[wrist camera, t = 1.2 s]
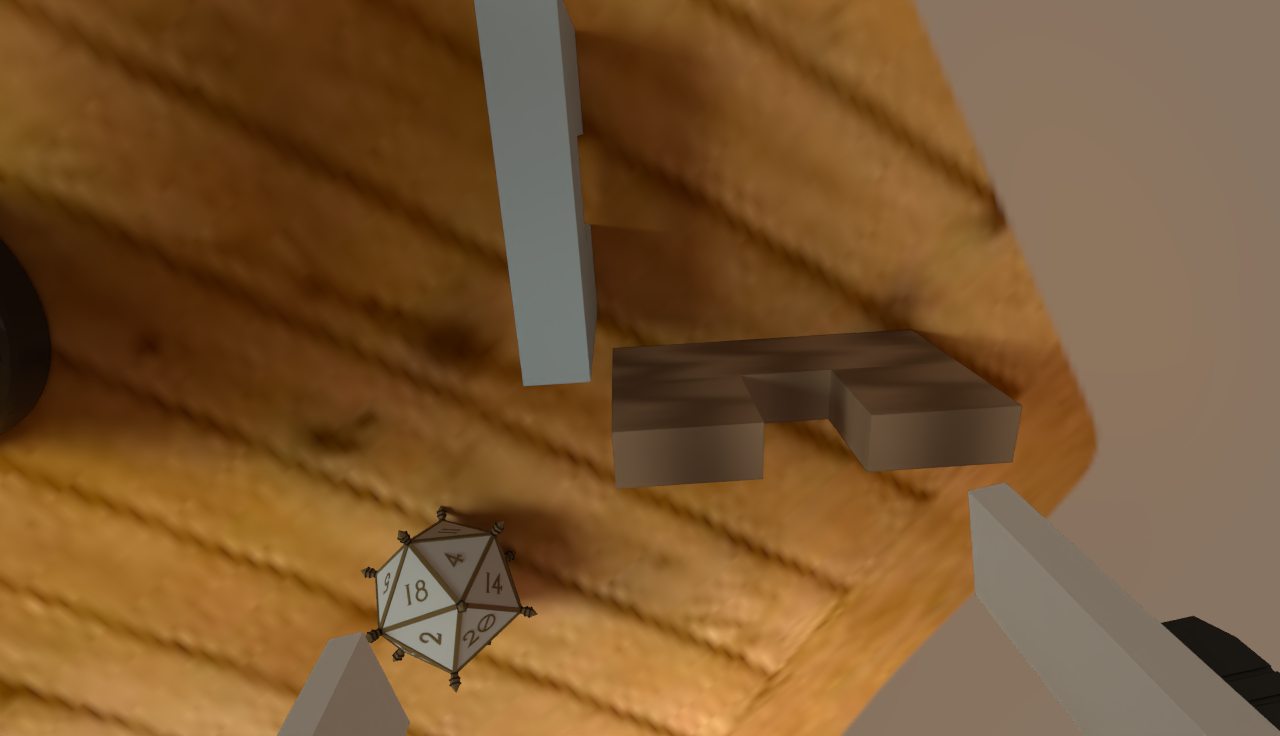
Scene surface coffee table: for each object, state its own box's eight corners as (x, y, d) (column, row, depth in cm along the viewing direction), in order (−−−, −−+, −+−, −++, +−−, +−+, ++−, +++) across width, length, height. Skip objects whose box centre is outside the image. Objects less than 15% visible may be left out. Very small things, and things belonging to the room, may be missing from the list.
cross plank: (549, 313, 33) (523, 386, 24) (519, 33, 29) (472, -13, 19) (597, 310, 33) (590, 381, 24) (574, 30, 29) (555, -17, 19)
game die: (482, 485, 41) (521, 485, 32) (527, 611, 41) (579, 647, 32) (334, 544, 37) (331, 563, 28) (384, 684, 37) (397, 748, 28)
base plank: (615, 391, 35) (616, 488, 26) (612, 348, 34) (611, 432, 25) (906, 373, 35) (1012, 462, 26) (911, 329, 34) (1022, 405, 25)
